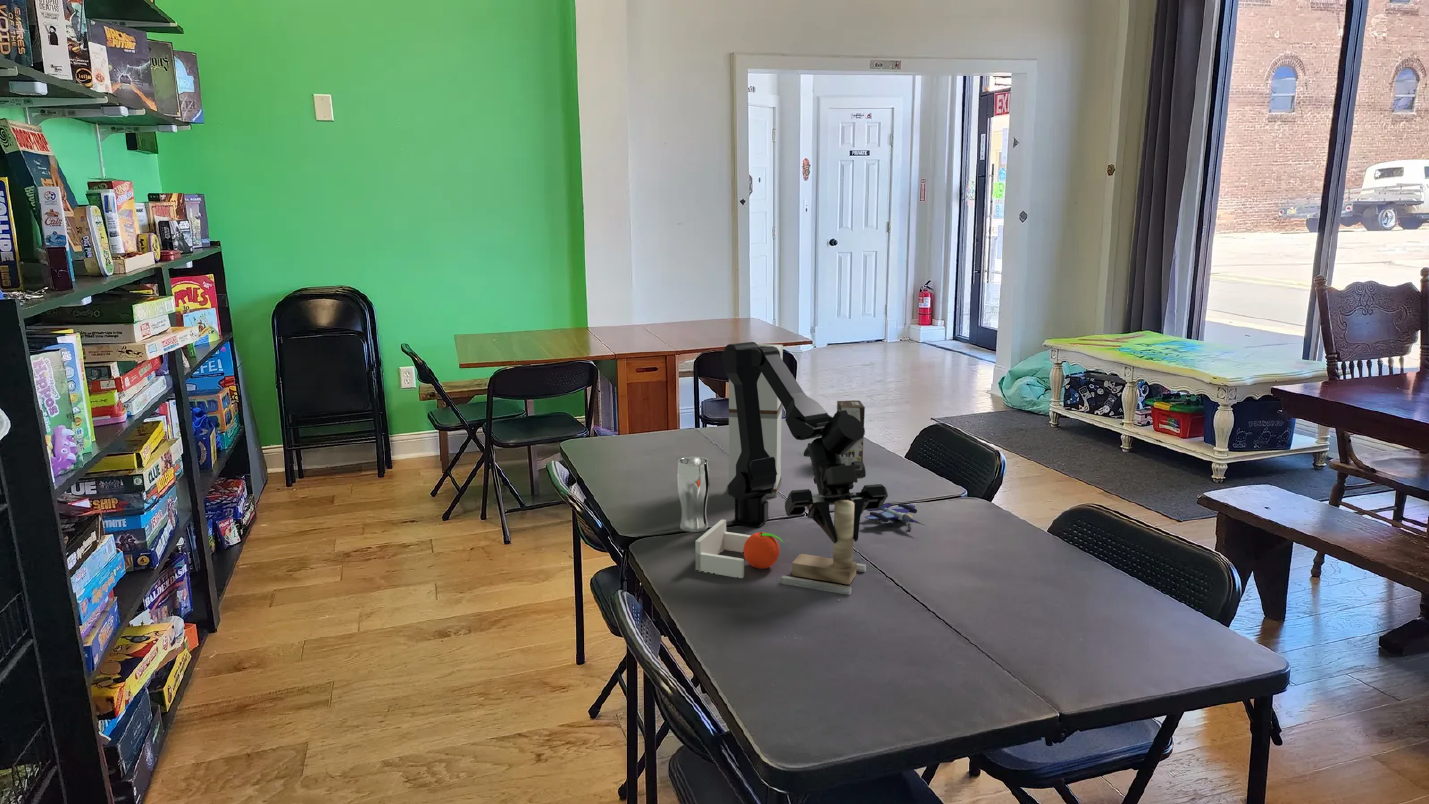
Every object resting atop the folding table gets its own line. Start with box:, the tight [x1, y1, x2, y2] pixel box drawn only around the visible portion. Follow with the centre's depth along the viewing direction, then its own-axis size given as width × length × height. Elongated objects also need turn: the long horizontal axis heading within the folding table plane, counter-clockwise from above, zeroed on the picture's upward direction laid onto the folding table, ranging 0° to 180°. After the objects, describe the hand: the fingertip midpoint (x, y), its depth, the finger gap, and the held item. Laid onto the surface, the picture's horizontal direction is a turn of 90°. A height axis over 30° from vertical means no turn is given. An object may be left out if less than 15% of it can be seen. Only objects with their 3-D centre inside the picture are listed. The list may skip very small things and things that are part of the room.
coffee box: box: [836, 399, 866, 465], centre depth 245 cm, size 9×6×16 cm
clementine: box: [743, 531, 786, 570], centre depth 175 cm, size 8×7×7 cm
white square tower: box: [728, 343, 784, 498], centre depth 220 cm, size 11×11×35 cm
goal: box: [694, 518, 751, 579], centre depth 178 cm, size 10×13×6 cm
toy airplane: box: [864, 502, 927, 532], centre depth 199 cm, size 13×14×4 cm
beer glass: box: [676, 456, 711, 533], centre depth 196 cm, size 7×7×15 cm
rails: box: [780, 562, 867, 596], centre depth 171 cm, size 13×12×1 cm
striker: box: [791, 500, 857, 586], centre depth 170 cm, size 11×5×15 cm, turn 67°
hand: (846, 541), depth 167 cm, fingers closed on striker, 4 cm apart
